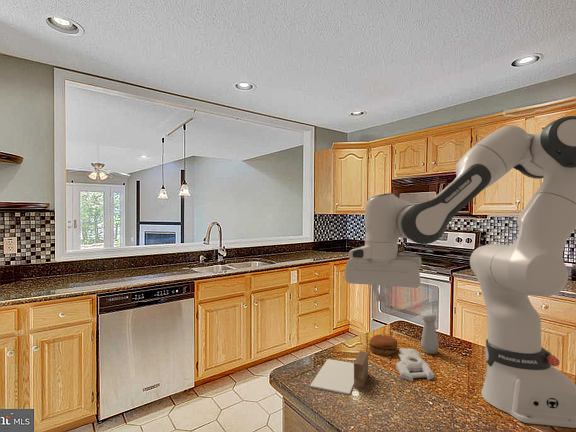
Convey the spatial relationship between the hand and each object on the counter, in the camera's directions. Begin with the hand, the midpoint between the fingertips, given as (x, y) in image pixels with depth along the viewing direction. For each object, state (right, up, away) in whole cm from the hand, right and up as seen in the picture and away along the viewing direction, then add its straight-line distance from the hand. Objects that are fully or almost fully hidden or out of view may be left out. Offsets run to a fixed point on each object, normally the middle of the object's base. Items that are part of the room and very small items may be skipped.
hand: (381, 301), depth 91 cm
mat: (-12, -23, +5) cm, 27 cm away
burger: (+7, -24, +23) cm, 34 cm away
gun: (+12, -24, +10) cm, 28 cm away
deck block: (-5, -23, +2) cm, 24 cm away
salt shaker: (+23, -23, +21) cm, 38 cm away
